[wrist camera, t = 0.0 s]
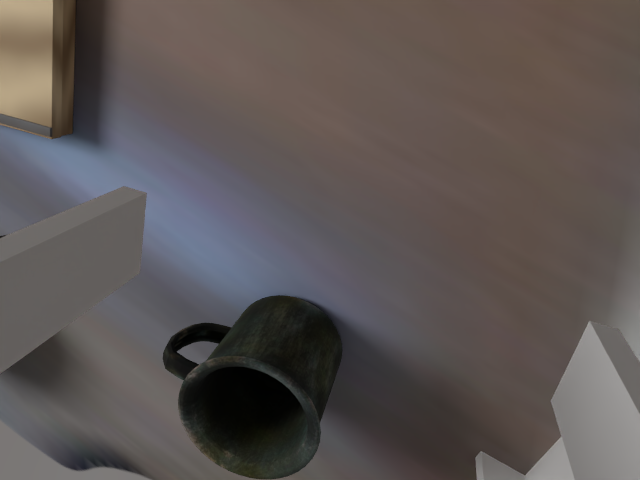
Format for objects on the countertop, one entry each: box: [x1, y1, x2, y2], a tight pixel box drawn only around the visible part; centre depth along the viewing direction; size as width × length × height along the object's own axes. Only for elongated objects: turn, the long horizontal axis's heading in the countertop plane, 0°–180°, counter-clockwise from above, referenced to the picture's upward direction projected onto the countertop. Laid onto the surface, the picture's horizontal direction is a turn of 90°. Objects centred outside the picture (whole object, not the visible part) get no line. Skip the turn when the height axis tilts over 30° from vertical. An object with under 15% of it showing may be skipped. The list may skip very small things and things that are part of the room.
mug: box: [163, 295, 342, 479], centre depth 44 cm, size 11×15×12 cm
